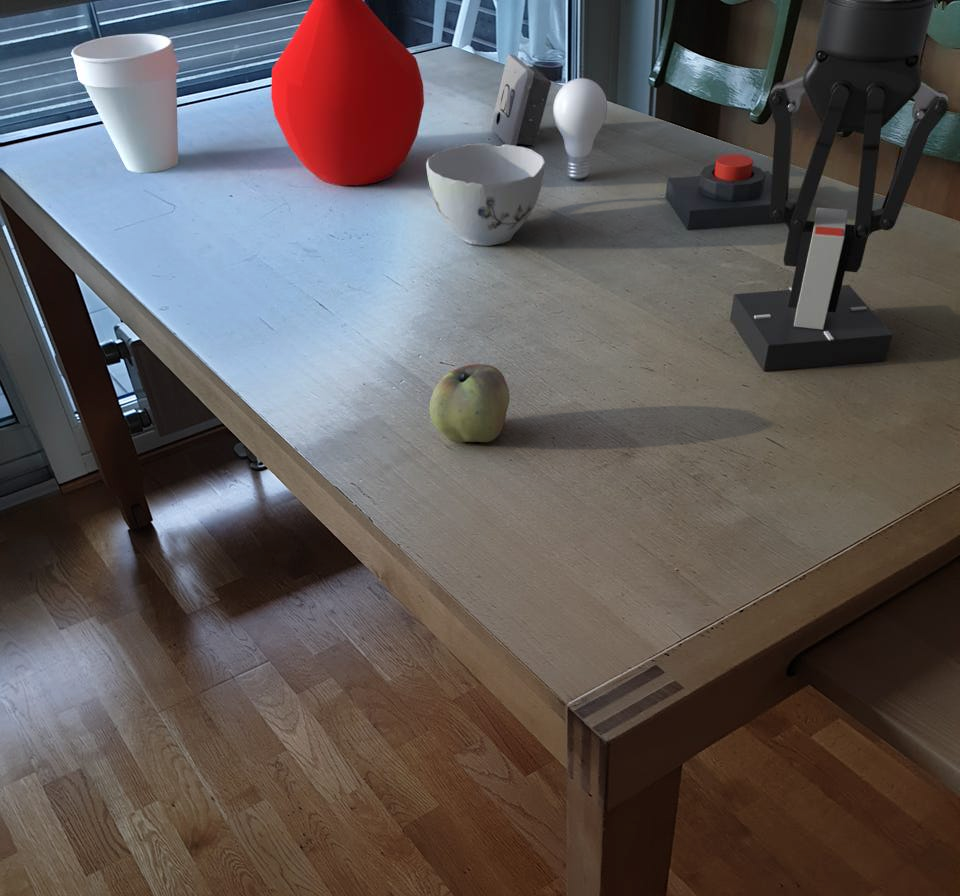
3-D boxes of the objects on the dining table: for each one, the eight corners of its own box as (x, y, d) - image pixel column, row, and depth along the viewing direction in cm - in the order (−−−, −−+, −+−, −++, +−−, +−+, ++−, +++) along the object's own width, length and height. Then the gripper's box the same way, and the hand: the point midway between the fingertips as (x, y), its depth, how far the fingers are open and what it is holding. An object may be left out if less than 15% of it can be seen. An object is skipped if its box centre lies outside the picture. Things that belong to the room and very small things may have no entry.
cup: (177, 181, 122) (148, 60, 113) (88, 179, 124) (51, 59, 115) (212, 149, 131) (188, 33, 121) (128, 147, 133) (98, 32, 123)
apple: (537, 446, 77) (538, 379, 73) (440, 463, 76) (435, 396, 71) (517, 408, 81) (516, 343, 77) (424, 423, 80) (418, 358, 76)
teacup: (556, 252, 103) (557, 174, 98) (441, 265, 102) (436, 187, 96) (524, 201, 114) (524, 128, 108) (420, 213, 112) (414, 139, 107)
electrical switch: (490, 130, 133) (495, 53, 126) (525, 129, 134) (532, 53, 128) (509, 152, 126) (515, 72, 120) (546, 151, 128) (554, 72, 121)
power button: (744, 169, 109) (746, 152, 108) (755, 181, 106) (758, 165, 105) (709, 171, 109) (711, 155, 107) (719, 184, 106) (722, 167, 105)
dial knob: (798, 296, 88) (817, 204, 82) (826, 299, 88) (848, 206, 82) (793, 326, 84) (813, 231, 78) (823, 329, 84) (845, 234, 78)
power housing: (765, 190, 114) (771, 154, 111) (793, 222, 107) (800, 185, 104) (665, 197, 113) (668, 161, 110) (687, 231, 106) (691, 193, 103)
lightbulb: (541, 181, 118) (542, 81, 110) (572, 166, 122) (575, 68, 114) (582, 192, 115) (587, 90, 107) (613, 177, 118) (619, 76, 111)
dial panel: (842, 309, 92) (849, 282, 90) (886, 361, 84) (894, 333, 83) (729, 318, 91) (733, 291, 89) (763, 372, 84) (768, 344, 82)
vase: (275, 158, 127) (227, -128, 106) (410, 141, 131) (388, -141, 110) (296, 208, 115) (245, -107, 94) (444, 187, 118) (427, -121, 97)
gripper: (997, -20, 69) (906, 294, 86) (775, -26, 73) (729, 276, 90) (1002, 4, 64) (905, 333, 81) (763, -4, 68) (717, 311, 85)
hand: (812, 302), depth 85 cm, fingers closed on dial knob, 3 cm apart
